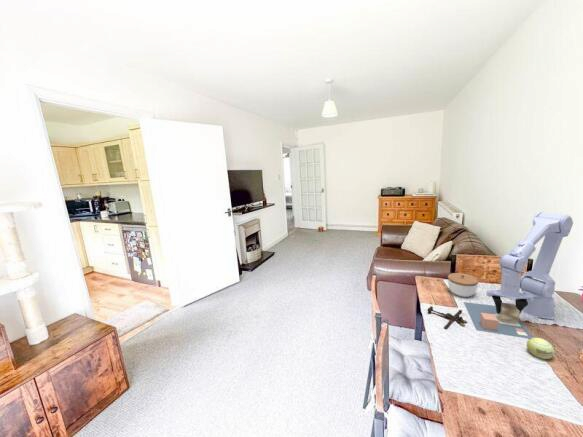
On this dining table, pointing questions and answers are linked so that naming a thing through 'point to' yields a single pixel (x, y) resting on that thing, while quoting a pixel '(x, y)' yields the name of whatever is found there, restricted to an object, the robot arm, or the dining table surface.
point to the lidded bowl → (462, 284)
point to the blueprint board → (503, 324)
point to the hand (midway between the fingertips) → (507, 313)
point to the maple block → (509, 312)
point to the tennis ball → (540, 348)
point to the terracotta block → (489, 321)
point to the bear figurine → (449, 317)
